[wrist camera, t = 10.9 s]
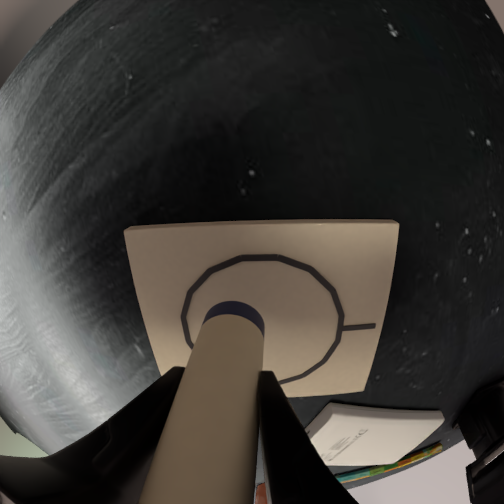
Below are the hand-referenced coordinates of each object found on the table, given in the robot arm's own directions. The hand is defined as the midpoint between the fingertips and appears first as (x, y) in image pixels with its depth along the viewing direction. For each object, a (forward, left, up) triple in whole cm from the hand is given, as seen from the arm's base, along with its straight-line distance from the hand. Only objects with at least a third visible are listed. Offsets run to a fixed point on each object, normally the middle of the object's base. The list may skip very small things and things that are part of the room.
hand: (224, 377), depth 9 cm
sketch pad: (-1, +2, -6) cm, 6 cm away
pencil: (-13, +24, -6) cm, 28 cm away
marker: (0, 0, -3) cm, 3 cm away
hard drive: (-10, +15, -6) cm, 19 cm away
